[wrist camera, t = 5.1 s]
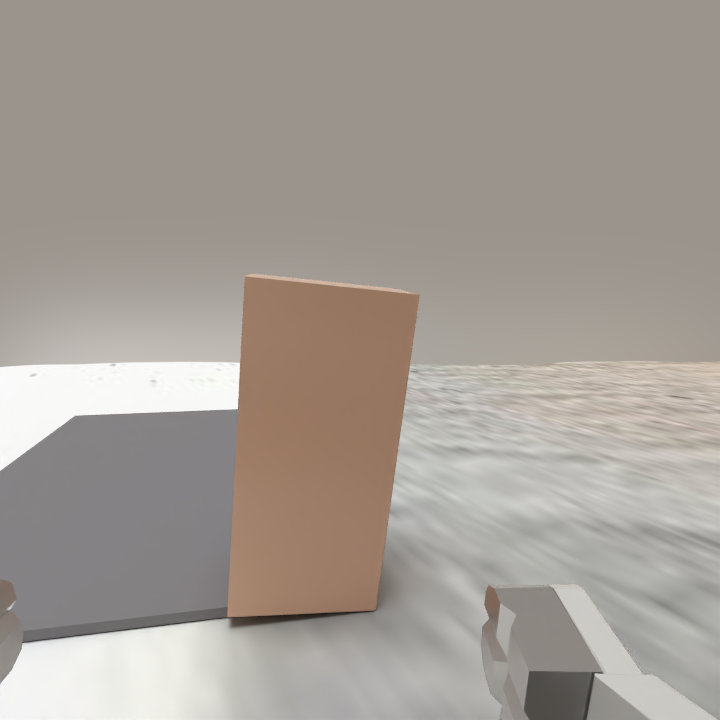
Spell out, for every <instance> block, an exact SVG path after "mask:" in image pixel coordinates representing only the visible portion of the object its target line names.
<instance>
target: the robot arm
mask: <svg viewBox="0 0 720 720" xmlns="http://www.w3.org/2000/svg"><path fill="white" fill-rule="evenodd" d="M16 600H17V598H16V594H15V591H14V587H13V583H12V582H9V581H6V580H2V579H0V683H1V682H2V681H3V680H4V679H5V677H6V676H7V675H8V674H9V672H10V671H11V670H12V668H13V666H14V664H15V662H16V660H17V657H18V655H19V653H20V651H21V649H22V641H23V628H22V623H21V621H20V620H19V619H18V618H17V617H16V616H15V615H14V614H13V613H12V612H11V611H10V609H11V608H12V606H13V605H14V603H15V601H16ZM485 608H486V610H487V613H488V616H489V620H488V621H487V622H486V623H485V624H484V625H483V626H482V639H481V647H482V659H483V666H484V671H485V676H486V680H487V683H488V687H489V690H490V693H491V694H492V695H493V697H494V698H495V699H496V700H497V701H498V702H499V703H500V704H501V705H502V706H501V716H500V720H717V719H716V718H714V717H713V716H711V715H710V714H709V713H707V712H706V711H704V710H703V709H702V708H700V707H699V706H697V705H696V704H694V703H693V702H692V701H690V700H689V699H687V698H686V697H684V696H683V695H682V694H680V693H679V692H677V691H676V690H674V689H673V688H672V687H670V686H669V685H667V684H666V683H664V682H663V681H662V680H660V679H659V678H657V677H656V676H655V675H648V674H642V672H641V671H640V669H639V668H638V666H637V665H636V664H635V662H634V661H633V659H632V658H631V656H630V655H629V654H628V652H627V651H626V649H625V648H624V646H623V645H622V644H621V642H620V641H619V639H618V638H617V636H616V635H615V634H614V632H613V631H612V629H611V628H610V626H609V625H608V623H607V622H606V621H605V619H604V618H603V616H602V615H601V613H600V612H599V611H598V609H597V608H596V606H595V605H594V603H593V602H592V601H591V599H590V598H589V596H588V595H587V593H586V592H585V591H584V589H583V588H581V587H580V586H578V585H577V584H573V585H547V586H545V585H489V586H488V588H487V591H486V596H485Z"/></svg>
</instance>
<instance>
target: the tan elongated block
mask: <svg viewBox="0 0 720 720" xmlns="http://www.w3.org/2000/svg"><path fill="white" fill-rule="evenodd" d="M418 302H419V294H415V293H411V292H407V291H402V290H398V289H393V288H383V287H375V286H365V285H356V284H346V283H336V282H327V281H317V280H309V279H308V280H307V279H299V278H290V277H280V276H271V275H261V274H250V275H247V276H245V284H244V302H243V324H242V341H241V361H240V379H239V399H238V418H237V437H236V456H235V476H234V495H233V514H232V533H231V553H230V572H229V591H228V610H227V617H245V616H266V615H288V614H309V613H331V612H352V611H374V610H376V605H377V598H378V591H379V583H380V576H381V569H382V562H383V554H384V547H385V540H386V533H387V526H388V518H389V511H390V504H391V497H392V490H393V482H394V475H395V468H396V461H397V454H398V446H399V439H400V432H401V425H402V418H403V410H404V403H405V396H406V389H407V382H408V374H409V367H410V360H411V353H412V346H413V338H414V331H415V323H416V317H417V309H418Z"/></svg>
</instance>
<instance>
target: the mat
mask: <svg viewBox="0 0 720 720" xmlns="http://www.w3.org/2000/svg"><path fill="white" fill-rule="evenodd" d="M237 418H238V409H236V410H210V411H185V412H160V413H134V414H109V415H84V416H75V417H73V418H72V419H70V420H69V421H68V422H66V423H65V424H64V425H62V426H61V427H60V428H58V429H57V430H55V431H54V432H53V433H51V434H50V435H49V436H47V437H46V438H45V439H43V440H42V441H41V442H39V443H38V444H36V445H35V446H34V447H32V448H31V449H30V450H28V451H27V452H26V453H24V454H23V455H21V456H20V457H19V458H17V459H16V460H15V461H13V462H12V463H11V464H9V465H8V466H7V467H5V468H4V469H2V470H1V471H0V579H2V580H6V581H9V582H12V583H13V587H14V591H15V594H16V598H17V600H16V601H15V603H14V605H13V606H12V608H11V609H10V611H11V612H12V613H13V614H14V615H15V616H16V617H17V618H18V619H19V620H20V621H21V623H22V628H23V641H22V642H25V641H34V640H42V639H50V638H58V637H66V636H75V635H83V634H91V633H99V632H107V631H116V630H124V629H132V628H140V627H148V626H157V625H165V624H173V623H181V622H190V621H198V620H206V619H214V618H222V617H227V610H228V591H229V572H230V553H231V533H232V514H233V495H234V476H235V456H236V437H237Z"/></svg>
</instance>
